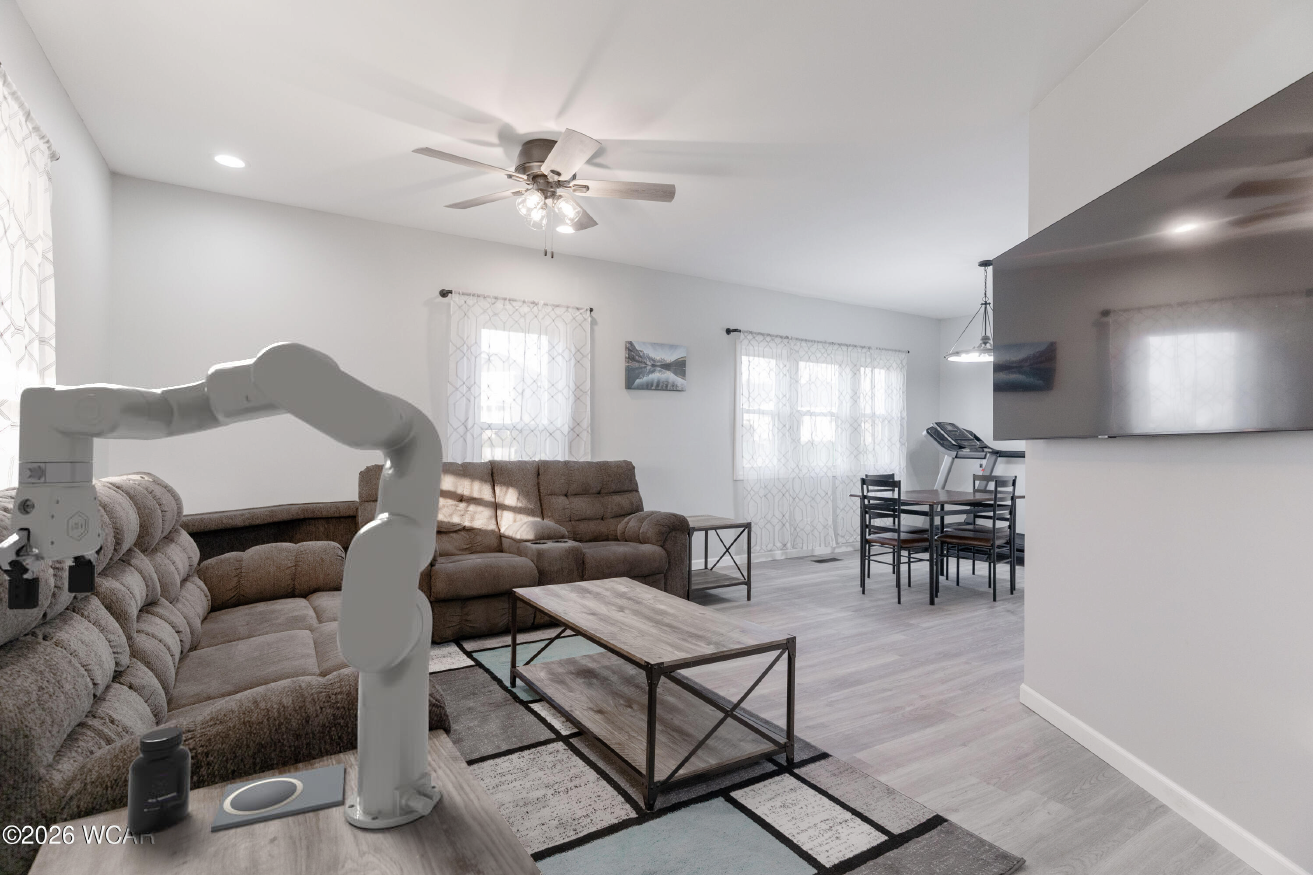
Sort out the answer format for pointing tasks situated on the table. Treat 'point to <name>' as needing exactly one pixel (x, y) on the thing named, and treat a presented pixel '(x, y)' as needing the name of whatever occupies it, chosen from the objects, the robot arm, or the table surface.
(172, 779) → the supplement bottle
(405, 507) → the robot arm
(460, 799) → the table surface
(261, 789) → the mat
